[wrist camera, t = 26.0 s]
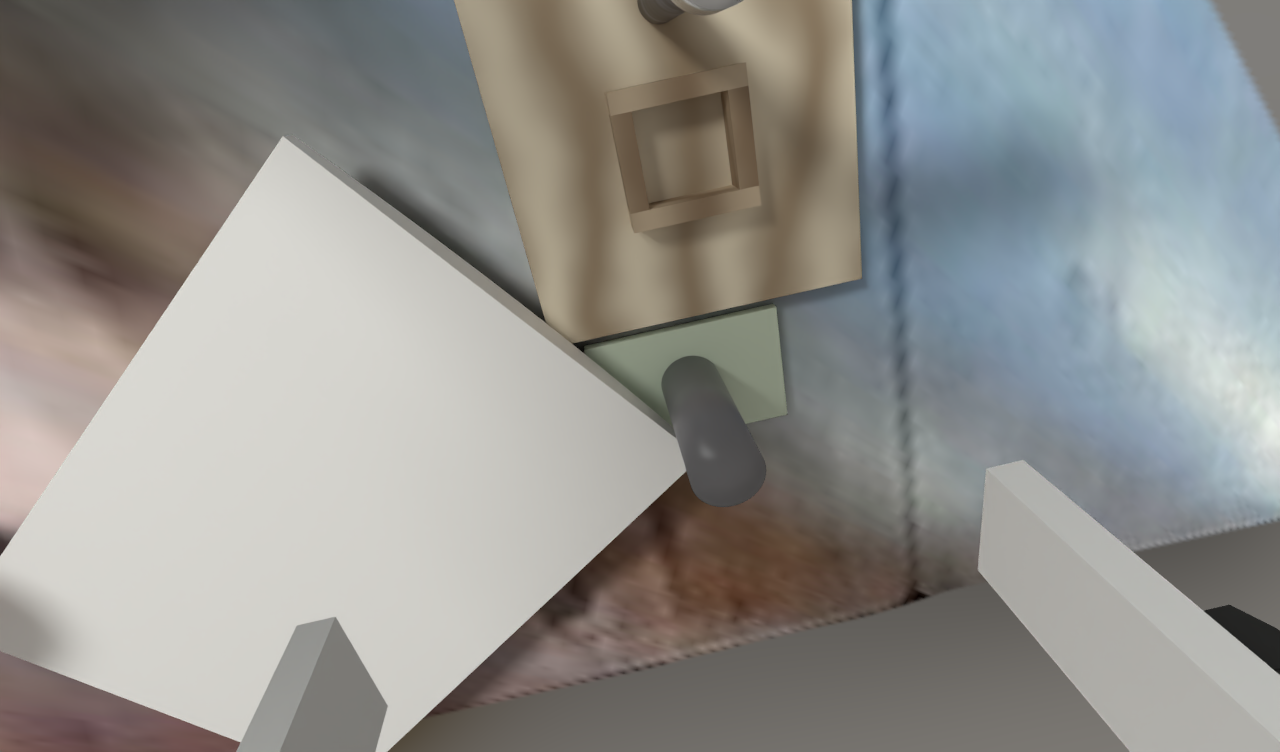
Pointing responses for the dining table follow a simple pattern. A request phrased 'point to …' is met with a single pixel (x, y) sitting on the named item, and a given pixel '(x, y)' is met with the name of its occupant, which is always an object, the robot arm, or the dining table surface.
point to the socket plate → (671, 152)
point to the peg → (711, 434)
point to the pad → (728, 341)
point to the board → (326, 468)
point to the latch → (705, 6)
